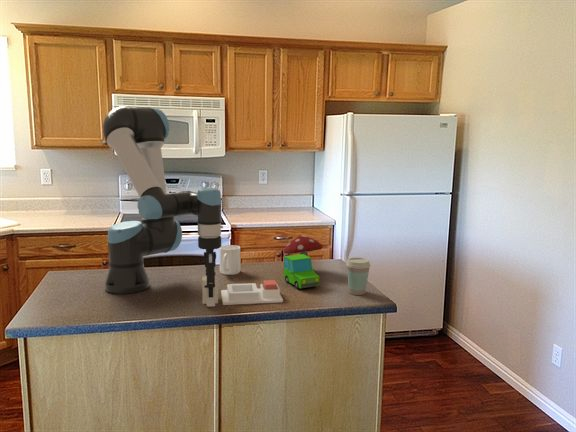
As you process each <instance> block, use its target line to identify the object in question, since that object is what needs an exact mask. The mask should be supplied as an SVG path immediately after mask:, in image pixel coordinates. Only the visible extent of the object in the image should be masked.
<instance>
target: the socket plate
mask: <svg viewBox="0 0 576 432" xmlns="http://www.w3.org/2000/svg"><path fill="white" fill-rule="evenodd" d="M259 287H260V288H258V286H257V284H256V283H255V282H254V283H252V282H251V283H227V284H226V289H222V290H220V294H221V301H222V305H223V306H225V305H226V306H230V305H252V304H253V305H254V304H272V303H277V304H278V303H283V302H284V299H283V297H282V295H281V290H280V289H281V288H280V287H279V285H278V284H277V289H272V290H265V289H264V286H263V283H260V285H259Z"/></svg>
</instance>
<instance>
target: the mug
mask: <svg viewBox="0 0 576 432" xmlns="http://www.w3.org/2000/svg"><path fill="white" fill-rule="evenodd" d="M240 272H241V246H240V245H235V244H234V245H233V244H226V245H221V247H220V248H219V273H220V274H221V275H225V276H226V275H227V276H233V275H234V276H235V275H239V274H240Z"/></svg>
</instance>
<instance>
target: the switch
mask: <svg viewBox="0 0 576 432" xmlns="http://www.w3.org/2000/svg"><path fill="white" fill-rule="evenodd" d="M262 284H263V286H264V289H265V290H272V289H277V285H278V283H277V282H276V279H269V280H268V279H266V280H265V279H264V280H263V283H262Z"/></svg>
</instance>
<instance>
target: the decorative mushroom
mask: <svg viewBox="0 0 576 432" xmlns="http://www.w3.org/2000/svg"><path fill="white" fill-rule="evenodd" d="M323 247H324V245H322V243H320V242H319V241H318V240H317V239H314V238H312V237H309V236H307V235H301V234H300V235H298V236H297V237H295V238H293V239H292V240H291V241H289V242H288V243H287V244H286V245H285V247H284V248H283V253H284V254H288V255H289V254H291V255H294V254H304V255H306V256H308V257H310V256H309V254H308V253H309V252H314V251H321V250H322V249H323Z"/></svg>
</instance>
